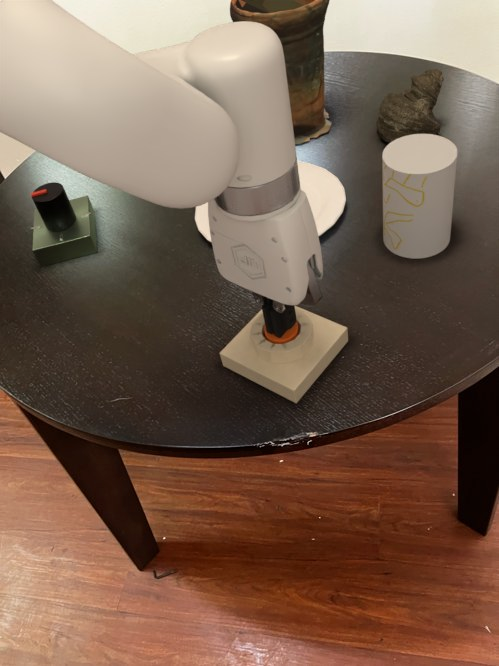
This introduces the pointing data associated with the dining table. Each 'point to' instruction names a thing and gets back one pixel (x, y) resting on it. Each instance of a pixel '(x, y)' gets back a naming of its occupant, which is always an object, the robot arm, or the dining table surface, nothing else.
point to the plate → (319, 190)
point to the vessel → (296, 55)
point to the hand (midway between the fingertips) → (282, 326)
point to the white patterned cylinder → (418, 194)
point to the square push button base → (285, 354)
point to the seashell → (411, 108)
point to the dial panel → (66, 236)
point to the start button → (286, 337)
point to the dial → (54, 206)
